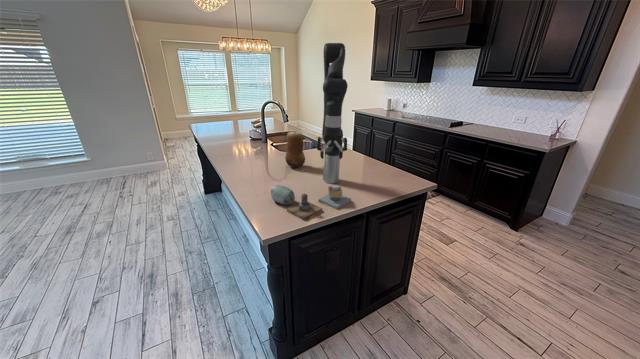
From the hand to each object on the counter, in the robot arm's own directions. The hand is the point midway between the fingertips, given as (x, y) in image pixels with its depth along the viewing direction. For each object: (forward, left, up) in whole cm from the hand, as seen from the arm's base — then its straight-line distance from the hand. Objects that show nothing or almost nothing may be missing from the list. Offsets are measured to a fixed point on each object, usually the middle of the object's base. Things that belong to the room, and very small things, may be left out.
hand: (331, 158), depth 122 cm
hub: (+3, +1, -23) cm, 23 cm away
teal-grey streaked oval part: (-16, -18, -23) cm, 34 cm away
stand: (-1, -17, -23) cm, 28 cm away
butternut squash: (-50, +22, -23) cm, 60 cm away
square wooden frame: (+3, +1, -19) cm, 19 cm away
